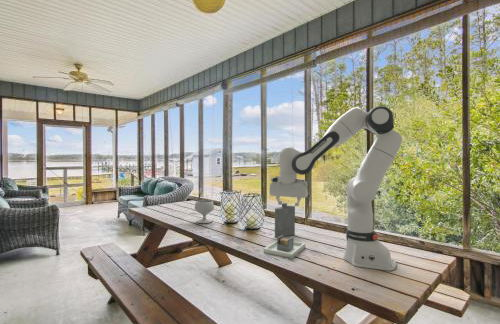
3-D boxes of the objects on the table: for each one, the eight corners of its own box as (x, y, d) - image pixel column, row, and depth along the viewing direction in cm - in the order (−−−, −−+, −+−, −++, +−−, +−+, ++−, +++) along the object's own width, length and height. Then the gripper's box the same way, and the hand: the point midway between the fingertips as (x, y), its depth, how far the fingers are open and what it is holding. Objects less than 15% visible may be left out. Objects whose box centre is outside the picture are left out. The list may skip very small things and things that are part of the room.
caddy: (293, 248, 144) (293, 236, 144) (288, 251, 138) (288, 239, 138) (282, 245, 147) (282, 234, 147) (276, 249, 142) (277, 237, 141)
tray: (305, 247, 147) (305, 243, 147) (291, 259, 131) (291, 254, 131) (279, 243, 155) (279, 238, 155) (263, 253, 138) (263, 248, 138)
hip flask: (277, 238, 162) (277, 205, 162) (272, 237, 166) (272, 204, 165) (295, 234, 172) (296, 202, 172) (290, 232, 175) (291, 201, 175)
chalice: (216, 220, 208) (216, 200, 207) (209, 224, 194) (209, 203, 194) (199, 219, 211) (199, 199, 211) (191, 223, 197) (191, 202, 197)
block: (290, 246, 143) (290, 239, 143) (287, 249, 140) (287, 241, 140) (283, 245, 145) (283, 237, 145) (280, 247, 142) (280, 239, 142)
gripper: (309, 178, 141) (309, 205, 141) (273, 177, 151) (273, 202, 152) (305, 179, 135) (305, 208, 136) (267, 178, 146) (268, 204, 146)
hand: (288, 205), depth 144 cm, fingers open, 8 cm apart
